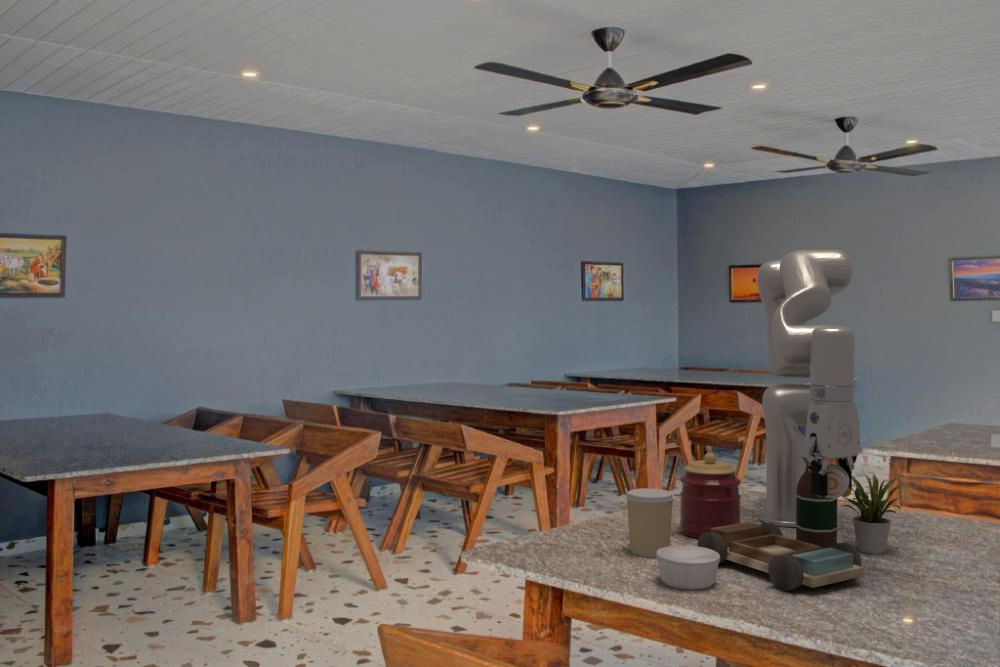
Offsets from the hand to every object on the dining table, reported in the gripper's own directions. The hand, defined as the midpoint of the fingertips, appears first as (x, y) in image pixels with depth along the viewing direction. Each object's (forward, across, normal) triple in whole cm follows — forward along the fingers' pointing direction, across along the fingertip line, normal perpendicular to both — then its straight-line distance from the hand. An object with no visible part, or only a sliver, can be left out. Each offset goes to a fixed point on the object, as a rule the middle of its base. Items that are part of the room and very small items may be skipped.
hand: (831, 492), depth 161 cm
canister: (+16, +3, +34) cm, 37 cm away
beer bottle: (+16, +12, +13) cm, 23 cm away
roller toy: (+1, 0, 0) cm, 1 cm away
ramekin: (+15, -25, +11) cm, 32 cm away
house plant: (+16, +22, +5) cm, 27 cm away
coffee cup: (+16, -18, +30) cm, 38 cm away
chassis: (+15, -6, +7) cm, 18 cm away
